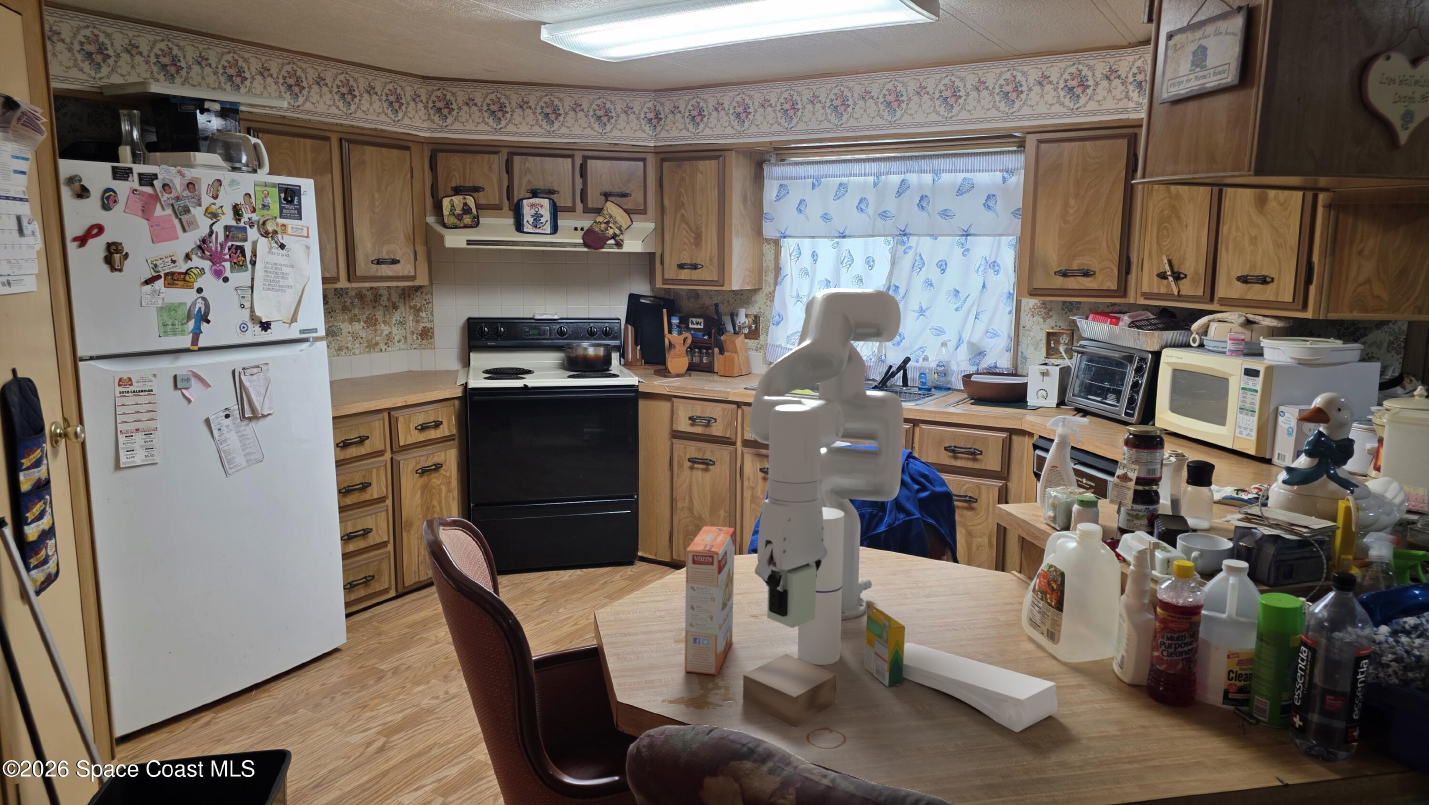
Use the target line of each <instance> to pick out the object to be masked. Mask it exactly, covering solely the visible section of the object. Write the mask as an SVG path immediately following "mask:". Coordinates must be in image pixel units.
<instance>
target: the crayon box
mask: <svg viewBox="0 0 1429 805" xmlns="http://www.w3.org/2000/svg"><path fill="white" fill-rule="evenodd" d="M865 628H866V629H865V645H864V646H865V647H864V648H865V649H864V651H865V652H864V665H863V668H864V669H865V670H867V672H869V673H870V674H872V675H873V676H874V677H875V678H876V679H878V680H879V681H880V682H881V683H882V684H883V685H884V686H885V687H887V688H888V687H893V686H898V685H899V686H900V685H903V681H904V680H903V678H904V677H903V660H904V644H905V638H906V637H905V634H906V626H905V624H904V625H903V623H901V622H899V621H898V620H896V619H895V618H893V617H892V616H890V615H889V614H888V613H886V612H885V611H883V610H882V609H880V608H878V607H877V606H875V605H874V604H872V603H871V602H869V601H868V600H867V602H866V625H865Z"/></svg>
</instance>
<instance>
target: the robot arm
mask: <svg viewBox="0 0 1429 805" xmlns="http://www.w3.org/2000/svg"><path fill="white" fill-rule="evenodd" d="M805 304H806V305H805V310H804V318H803V323H802V327H801V331H800V333H799V334H800V335H799V338H798V342H797V347H795V348H794V349H792V350H790V351H789V352H787V353H786V354H784V355H782V356H781V357H779V358H778V359H777V360H776V361H775V362H773V363H772V364H771V365H769V367H767V368H766V370H765V371H763V372H764V373H763V374H762V375H761V377H760V378H759V381H758V383H757V386H756V389H755V394H754V395H753V400H752V403H751V407H750V411H749V412H750V413H749V429H750V432H751V435H752V436H753V438H754V439H755V440H756V441H758V442H759V443H762V444H768V478H767V479H768V480H767V485H768V486H767V487H768V488H767V499H764V502H763V506H762V510H761V514H760V521H759V527H758V538H757V540H758V541H757V557H756V558H757V564H756V566H755V568H754V573H755V575H757V576H758V577H759V578H761V579H762V580H763V582H764V583H765V585H766V586H767V588H768V587H769V611H770V612H772V613H774V614H777V615H780V616H782V617H785V616H787V601H788V590H785V585H786V581H787V573H788V571H789V570H791V569H794V568H797V567H800V566H803V565H809V566H810V565H811V566H814V567H816V578H817V571H818V569H819V567H820V566H821V562H822V561H823V559H824V558H825V557H826V555H827V553H828V551H827V549H826V547H825V546H824V521H823V510H822V507H827V508H834V509H838V510H841V511H842V512H844V540H843V573H842V606H841V620H849V619H855V618H857V617H859V616H862V615H863V614H864V613H865V612H866V611H867V602H866V601H865V599H863V598H862V597H861V594H862V593H863V592H864V591H866V590H869V589H871V588H872V586H873V584H872V581H871V580H870V579H869V578H865V579H863V580H861V581H860V580H859V579H860V578H859V577H860V574H859V572H860V547H861V546H860V545H861V519H860V517H859V514H858V511H857V509H856V508H855V506H854V505H853V504H852V503H851V501H850V500H862V501H863V500H864V501H873V502H874V501H876V502H878V501H879V502H888V501H892V500H894V499H895V498H896V497H897V495H898V494H899V491H900V487H901V480H902V466H903V465H902V464H903V463H902V462H903V444H904V407H903V403H902V401H901V398H900V397H899V396H898V395H897V394H895V393H893V392H890V391H885V390H867V389H866V386H865V385H866V384H865V383H866V382H865V380H866V369H867V368H866V362H865V360H864V358H863V356H862V354H861V353H860V352H859V350H858V349H857V348H856V346H855V345H854V344H853V342H867V343H868V342H869V343H890V342H892V341H894V340H895V339H896V337H897V335H898V334H899V331H900V329H901V328H900V326H901V322H902V321H901V320H902V315H901V313H902V312H901V307H900V304H899V302H898V300H897V298H896V297H895V296H894V295H892V294H891V293H889V292H887V291H885V290H881V289H874V288H872V289H871V288H870V289H869V288H868V289H867V288H827V289H823V290H820V291H819V292H816V293H814V295H813V296H812V297H811V299H809V300H808V301H807V302H806V303H805ZM817 384H818V397H807V396H797V395H787V394H790V393H791V392H794V391H797V390H799V389H803V388H807V387H810V386H814V385H817ZM839 440H841V441H842V440H844V441H857V442H859V441H860V442H872V443H875V444H876V446H877V448H876V449H875V448H860V447H859V448H858V447H854V446H853V447H851V446H850V447H849V446H837V445H835V444H836V443H837V442H838V441H839ZM833 445H835V446H833ZM776 571H777V572H780V575H779V579H778V578H777V577H776Z"/></svg>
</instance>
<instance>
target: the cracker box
mask: <svg viewBox="0 0 1429 805" xmlns="http://www.w3.org/2000/svg"><path fill="white" fill-rule="evenodd" d="M735 537H736V529H735V528H732V527H727V526H726V527H725V526H708V525H706V526H703V527H702V528H701V530H700V531H699V533H698V534H697V536H695V538H694V540H692V542H691V544H690V545H689V546H688V547H687V549H686V550H685V552H686V554H685V555H686V556H685V558H686V559H685V610H684V611H685V614H684V615H685V620H684V622H685V623H684V625H685V626H684V630H685V631H684V672H687V673H693V674H694V673H696V674H704V675H715V676H718V674H719V671H720V670H721V667H722V664H723V662H724V660H725V658H726V655H727V653H728V651H729V649H730V647H731V644H732V643H733V622H734V621H733V620H734V589H735V588H734V585H735V584H734V582H735V581H734V580H735V574H734V573H735V551H736V550H735V549H736V548H735V546H736V545H735V544H736V543H735V540H736V538H735Z"/></svg>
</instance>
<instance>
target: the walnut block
mask: <svg viewBox="0 0 1429 805" xmlns="http://www.w3.org/2000/svg"><path fill="white" fill-rule="evenodd" d="M742 675H743V676H742V678H743V679H742V680H743V682H742V704H743V705H745V706H747V707H749V708H751V709H753V710H756V711H758V712H760V713H762V714H764V715H766V716H768V717H771V718H773V719H775V720H777V721H778V722H780V723H784V724H785V725H787V726H790V727H791V728H797V727H799V726H800V725H802V724H804V723H806V722H807V721H809V720H810V719H812V718H814V717H816V716H817V715H818V714H821V713H823V712H824V711H826V710H828V709H829V708H831V707H833V706H835V705H836V704H837V684H838V683H837V681H838V674H837V673H835V672H833V671H830V670H828V669H825V668H822V667H819V666H817V665H816V664H811V663H807V662H805V661H803V660H801V659H800V658H798V657H795V656H792V655H789V654H787V653H785V654H783V655H780V656H778V657H776V658H774V659H772V660H770V661H769V662H766V663H763V664H761V665H760V666H758V667H756V668H754V669H752V670H750V671H747V672H745V673H743V674H742Z"/></svg>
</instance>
